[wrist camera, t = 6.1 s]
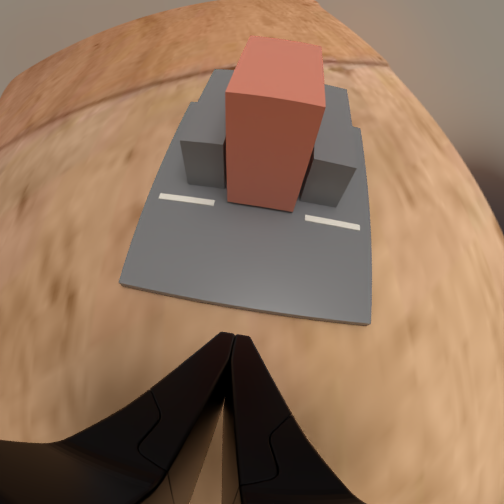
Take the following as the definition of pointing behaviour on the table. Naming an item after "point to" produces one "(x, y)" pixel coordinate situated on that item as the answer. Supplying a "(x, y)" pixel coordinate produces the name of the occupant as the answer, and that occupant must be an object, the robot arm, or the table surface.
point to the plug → (272, 121)
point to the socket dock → (258, 224)
